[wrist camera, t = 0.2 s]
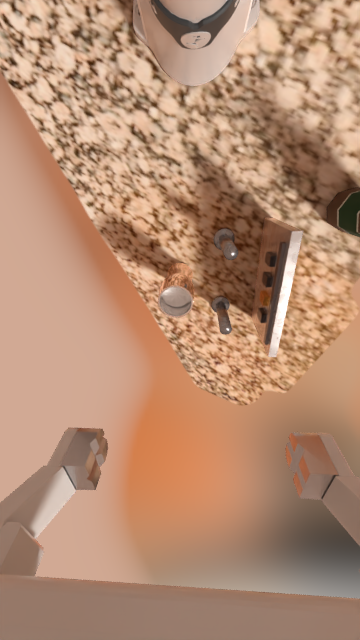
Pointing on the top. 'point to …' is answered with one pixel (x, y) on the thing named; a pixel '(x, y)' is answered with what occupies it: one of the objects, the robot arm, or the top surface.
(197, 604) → the robot arm
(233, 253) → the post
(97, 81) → the top surface
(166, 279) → the beer glass
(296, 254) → the panel
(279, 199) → the top surface
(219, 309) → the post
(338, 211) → the beer bottle
